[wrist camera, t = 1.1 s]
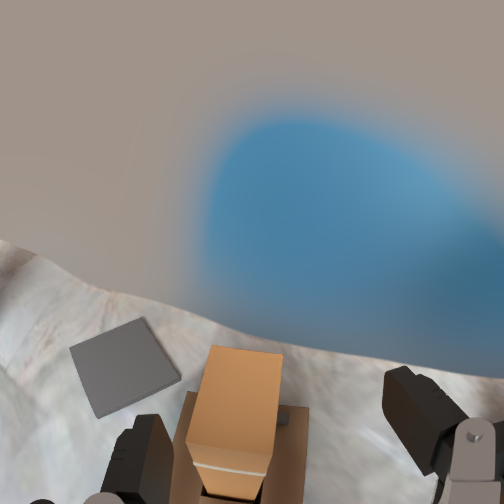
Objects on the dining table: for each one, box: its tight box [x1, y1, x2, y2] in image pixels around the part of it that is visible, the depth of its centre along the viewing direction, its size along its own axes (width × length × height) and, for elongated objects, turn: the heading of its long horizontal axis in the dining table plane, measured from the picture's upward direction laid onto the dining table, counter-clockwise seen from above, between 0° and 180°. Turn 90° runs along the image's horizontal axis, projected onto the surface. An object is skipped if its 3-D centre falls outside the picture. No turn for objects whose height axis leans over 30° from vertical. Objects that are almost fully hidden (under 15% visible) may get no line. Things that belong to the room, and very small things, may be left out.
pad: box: [69, 318, 181, 419], centre depth 35 cm, size 11×11×1 cm
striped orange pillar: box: [185, 345, 283, 504], centre depth 20 cm, size 4×6×18 cm
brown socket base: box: [169, 391, 309, 504], centre depth 24 cm, size 12×14×5 cm
